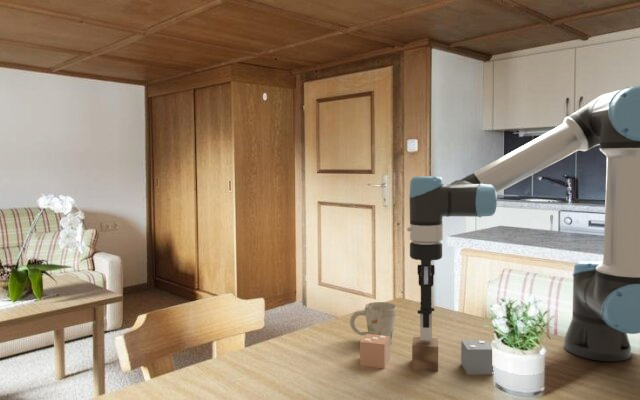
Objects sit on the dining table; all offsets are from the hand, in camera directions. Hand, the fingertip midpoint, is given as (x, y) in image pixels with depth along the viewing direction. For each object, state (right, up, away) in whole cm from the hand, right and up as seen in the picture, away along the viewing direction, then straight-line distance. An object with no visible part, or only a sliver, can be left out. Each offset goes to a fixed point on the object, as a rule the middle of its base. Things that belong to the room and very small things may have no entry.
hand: (426, 338), depth 128 cm
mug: (-11, -5, +17) cm, 21 cm away
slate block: (+12, -7, -2) cm, 14 cm away
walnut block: (0, -7, +1) cm, 7 cm away
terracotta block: (-12, -7, +3) cm, 14 cm away
